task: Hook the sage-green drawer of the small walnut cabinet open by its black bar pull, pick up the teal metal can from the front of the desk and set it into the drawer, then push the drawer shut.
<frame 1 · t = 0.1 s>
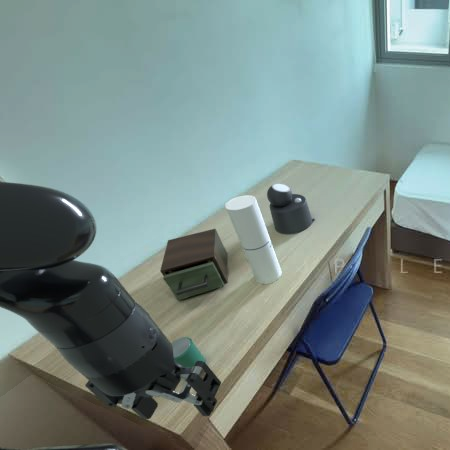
hand: (181, 410, 45), 16 cm above the table, tool pointing down, fingers open, 8 cm apart
cylindrical container: (269, 275, 91), on the table
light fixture: (295, 223, 113), on the table
cabinet: (204, 273, 92), on the table
drawer: (196, 271, 86), point 5 cm above the table, slide at 1.0 cm
can: (192, 366, 68), on the table
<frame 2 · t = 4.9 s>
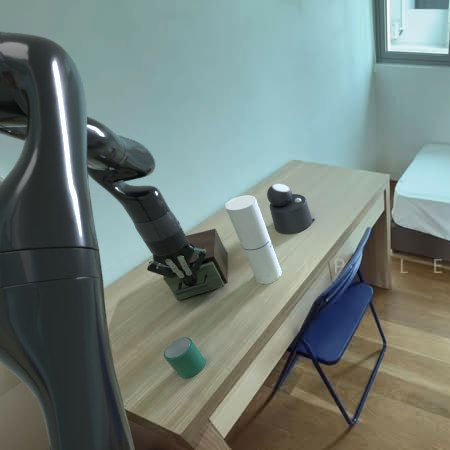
hand: (193, 284, 80), 6 cm above the table, tool pointing down, fingers closed
drawer: (196, 271, 86), point 5 cm above the table, slide at 1.0 cm, touching gripper
everything else where it was.
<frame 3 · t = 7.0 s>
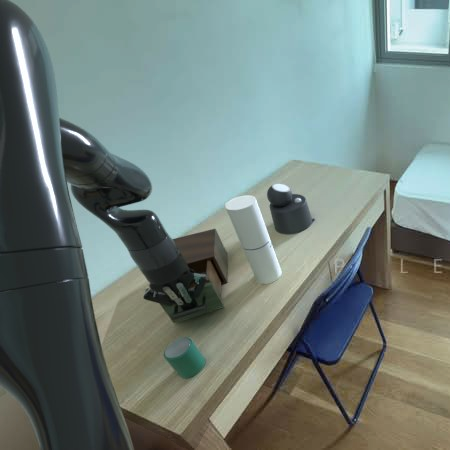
hand: (192, 310, 75), 4 cm above the table, tool pointing down, fingers closed
drawer: (194, 291, 79), point 5 cm above the table, slide at 9.4 cm, touching gripper
everything else where it was.
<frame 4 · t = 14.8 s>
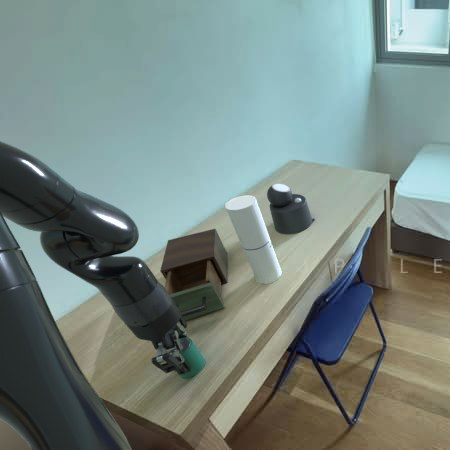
hand: (187, 360, 66), 3 cm above the table, tool pointing down, fingers closed on can, 5 cm apart
drawer: (193, 292, 79), point 5 cm above the table, slide at 9.5 cm
can: (192, 366, 68), on the table, touching gripper
everything else where it was.
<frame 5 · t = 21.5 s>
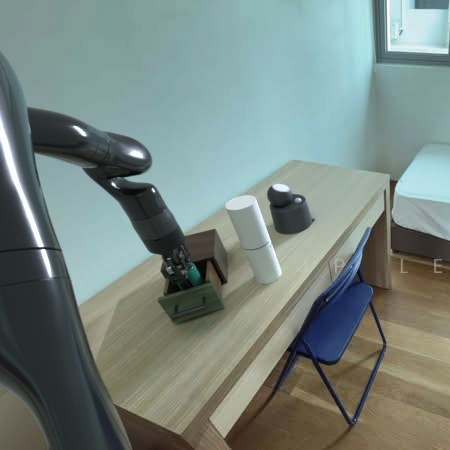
hand: (190, 281, 79), 8 cm above the table, tool pointing down, fingers closed on can, 5 cm apart
can: (194, 289, 80), point 5 cm above the table, touching gripper
everything else where it was.
when the fingers open (9 cm above the table, at t = 33.8 s): can drops 5 cm, resting on drawer.
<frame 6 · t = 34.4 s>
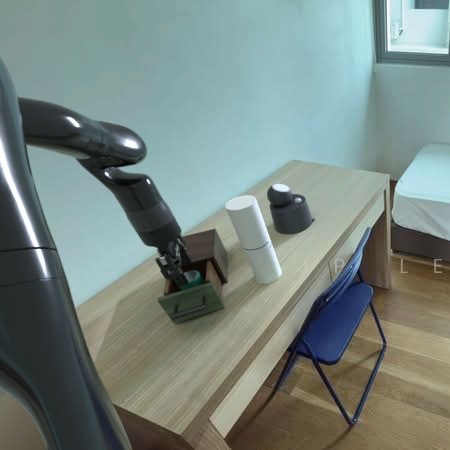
hand: (185, 273, 77), 10 cm above the table, tool pointing down, fingers open, 8 cm apart
drawer: (194, 292, 79), point 5 cm above the table, slide at 9.4 cm, touching can
can: (199, 296, 82), point 2 cm above the table, touching drawer
everything else where it was.
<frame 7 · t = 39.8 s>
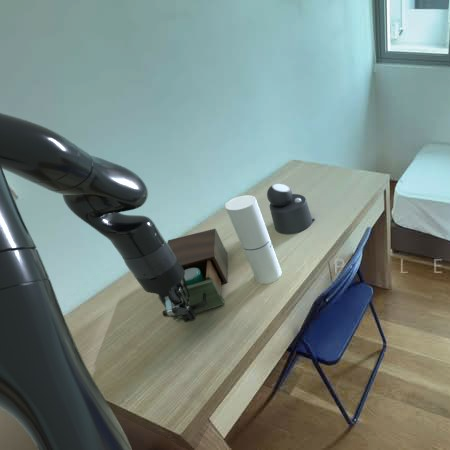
hand: (191, 318, 72), 5 cm above the table, tool pointing down, fingers closed
drawer: (194, 289, 80), point 5 cm above the table, slide at 8.3 cm, touching can, gripper
can: (199, 293, 83), point 2 cm above the table, touching drawer
everything else where it was.
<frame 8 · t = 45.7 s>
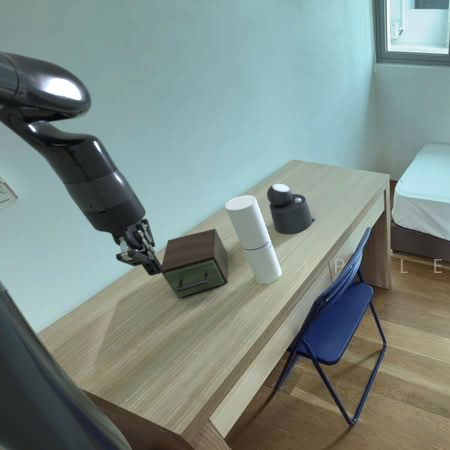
hand: (156, 272, 62), 21 cm above the table, tool pointing down, fingers closed
drawer: (196, 269, 86), point 5 cm above the table, slide at 0.0 cm, touching can
can: (201, 274, 89), point 2 cm above the table, touching drawer
everything else where it was.
at the end: can inside the target area in the cabinet (2.5 cm from its centre), point 2.0 cm above the cabinet's base; drawer slide at 0.0 cm; can tilted 0° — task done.
